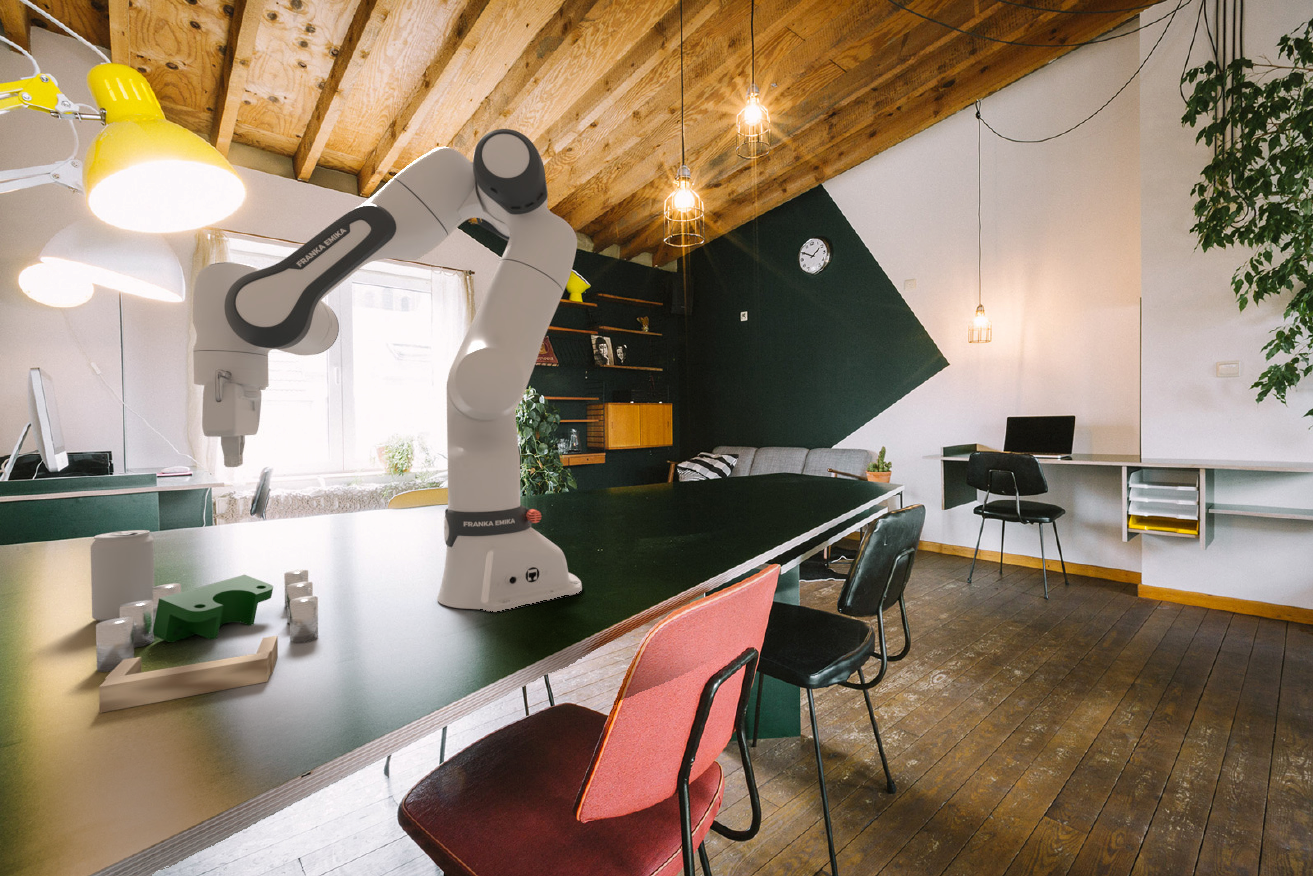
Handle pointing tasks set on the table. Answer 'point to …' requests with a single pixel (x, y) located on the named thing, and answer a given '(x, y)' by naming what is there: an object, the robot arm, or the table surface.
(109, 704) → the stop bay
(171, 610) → the clamp
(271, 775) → the table surface
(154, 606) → the spacers
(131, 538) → the beverage can
